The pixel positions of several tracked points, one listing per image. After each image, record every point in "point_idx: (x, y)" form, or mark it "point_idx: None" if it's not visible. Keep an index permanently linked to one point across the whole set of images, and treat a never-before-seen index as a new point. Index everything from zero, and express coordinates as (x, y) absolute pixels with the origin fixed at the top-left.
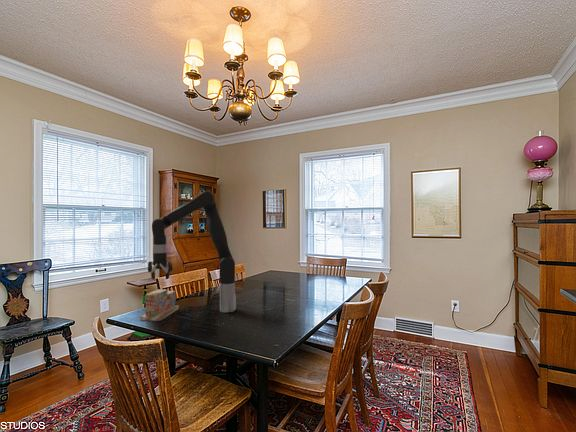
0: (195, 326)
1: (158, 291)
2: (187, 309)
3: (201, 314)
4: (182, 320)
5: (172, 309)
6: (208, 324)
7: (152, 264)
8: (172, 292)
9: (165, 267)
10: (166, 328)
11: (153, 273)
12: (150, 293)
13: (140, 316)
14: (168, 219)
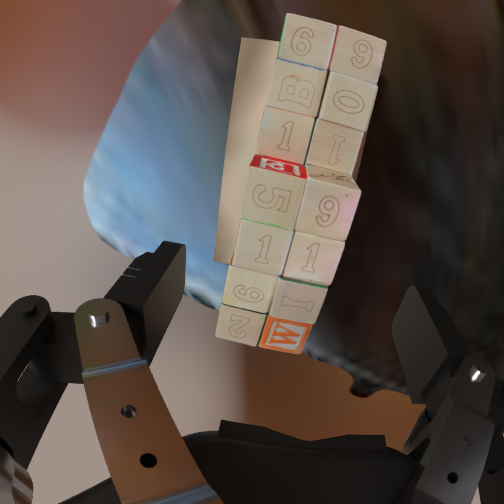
0: (461, 336)
1: (290, 260)
2: (430, 92)
3: (498, 203)
4: (425, 276)
5: (363, 147)
6: (498, 320)
7: (21, 486)
8: (376, 91)
9: (441, 450)
10: (369, 349)
11: (151, 350)
12: (239, 312)
13: (214, 259)
14: None
